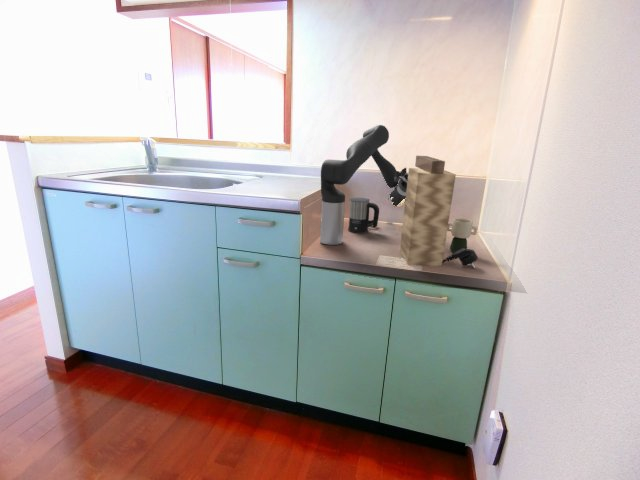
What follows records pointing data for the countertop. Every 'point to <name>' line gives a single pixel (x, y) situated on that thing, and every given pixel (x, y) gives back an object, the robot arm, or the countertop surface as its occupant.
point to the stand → (426, 216)
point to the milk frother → (362, 215)
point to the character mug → (460, 233)
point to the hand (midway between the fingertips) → (416, 170)
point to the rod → (430, 164)
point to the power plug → (463, 256)
